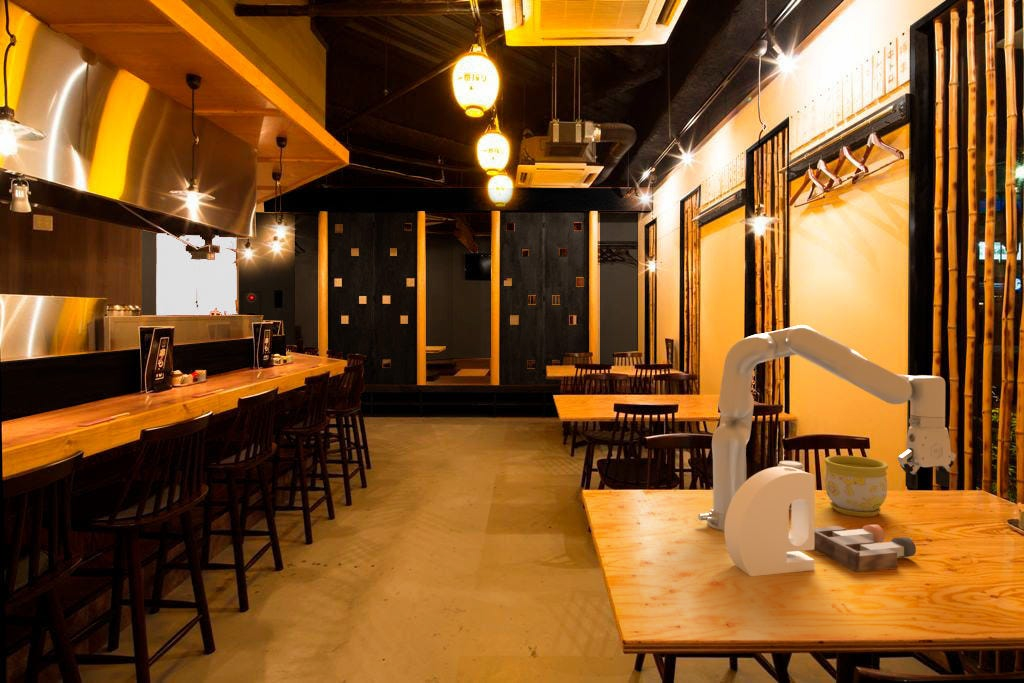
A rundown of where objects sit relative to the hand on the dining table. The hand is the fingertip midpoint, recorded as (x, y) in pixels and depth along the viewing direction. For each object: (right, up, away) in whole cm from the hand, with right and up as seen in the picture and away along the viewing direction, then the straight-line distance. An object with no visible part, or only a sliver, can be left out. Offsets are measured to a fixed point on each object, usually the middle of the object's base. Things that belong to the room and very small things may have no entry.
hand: (926, 486), depth 156 cm
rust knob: (-14, -18, +8) cm, 24 cm away
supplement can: (-16, -17, +42) cm, 48 cm away
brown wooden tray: (-21, -19, +1) cm, 28 cm away
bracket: (-45, -19, -7) cm, 49 cm away
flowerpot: (+3, -17, +38) cm, 42 cm away
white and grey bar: (-12, -18, -2) cm, 22 cm away
